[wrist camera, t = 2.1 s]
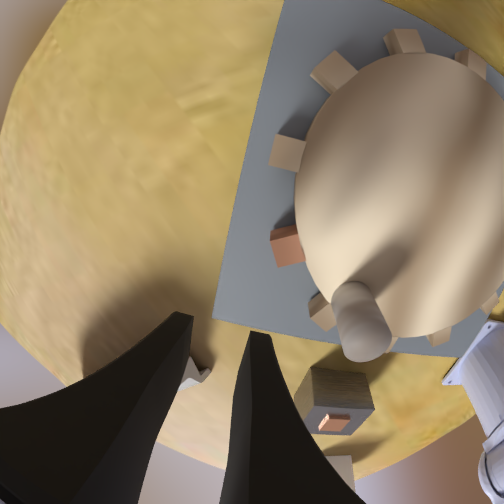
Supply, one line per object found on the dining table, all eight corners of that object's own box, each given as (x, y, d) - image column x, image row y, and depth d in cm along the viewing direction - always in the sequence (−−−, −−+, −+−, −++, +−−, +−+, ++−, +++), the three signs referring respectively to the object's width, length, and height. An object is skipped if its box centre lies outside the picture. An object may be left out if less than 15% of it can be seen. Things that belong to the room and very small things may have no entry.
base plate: (537, 123, 10) (550, 124, 9) (454, 346, 18) (462, 358, 17) (291, -15, 10) (292, -27, 8) (216, 304, 18) (211, 318, 17)
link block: (364, 372, 20) (375, 412, 16) (344, 400, 22) (351, 438, 18) (310, 365, 20) (314, 409, 16) (293, 394, 22) (294, 435, 18)
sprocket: (543, 130, 9) (589, 140, 4) (462, 347, 16) (487, 390, 12) (311, -9, 9) (324, -62, 4) (233, 309, 16) (218, 371, 12)
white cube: (335, 469, 29) (337, 503, 24) (295, 470, 29) (295, 505, 24) (351, 454, 27) (355, 492, 21) (307, 455, 27) (307, 495, 21)
